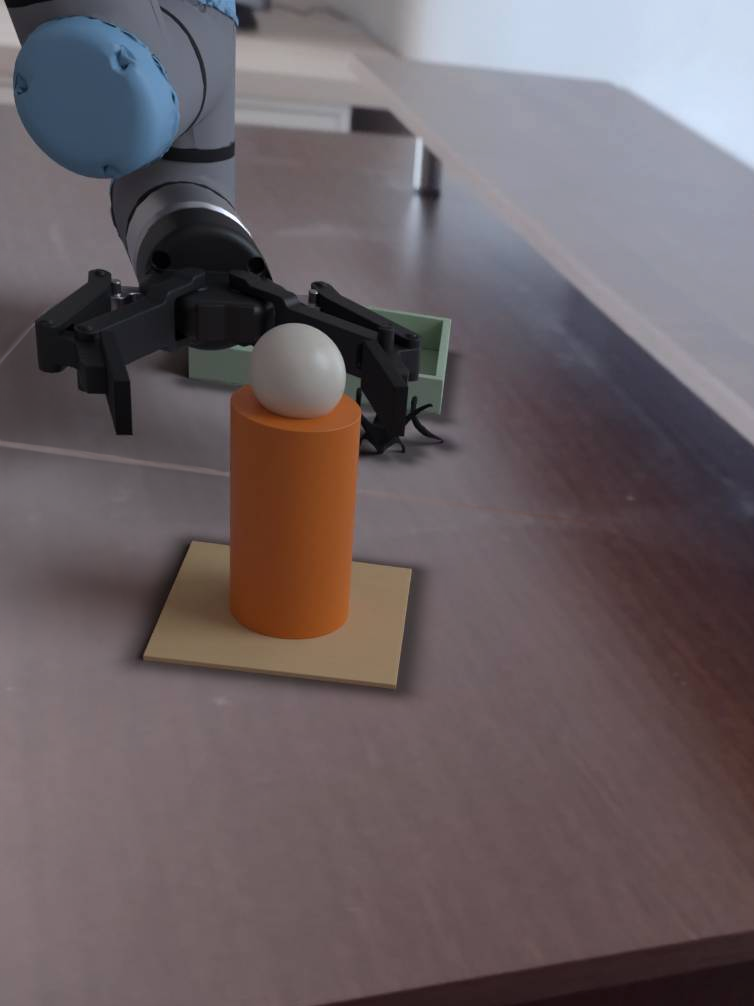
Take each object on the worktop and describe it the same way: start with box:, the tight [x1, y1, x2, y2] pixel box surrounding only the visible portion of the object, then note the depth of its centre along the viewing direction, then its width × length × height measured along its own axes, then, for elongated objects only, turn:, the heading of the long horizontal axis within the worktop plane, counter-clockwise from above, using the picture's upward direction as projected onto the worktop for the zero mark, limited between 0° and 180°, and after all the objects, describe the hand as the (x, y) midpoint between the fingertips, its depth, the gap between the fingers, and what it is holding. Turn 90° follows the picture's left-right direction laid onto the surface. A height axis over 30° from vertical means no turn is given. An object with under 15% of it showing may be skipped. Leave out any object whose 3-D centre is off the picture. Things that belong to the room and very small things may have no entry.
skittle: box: [229, 323, 362, 639], centre depth 64 cm, size 6×6×15 cm
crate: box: [187, 304, 452, 415], centre depth 95 cm, size 17×13×3 cm
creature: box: [356, 387, 445, 455], centre depth 86 cm, size 8×5×8 cm
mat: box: [142, 540, 413, 690], centre depth 69 cm, size 12×12×1 cm
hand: (267, 410), depth 66 cm, fingers open, 13 cm apart
